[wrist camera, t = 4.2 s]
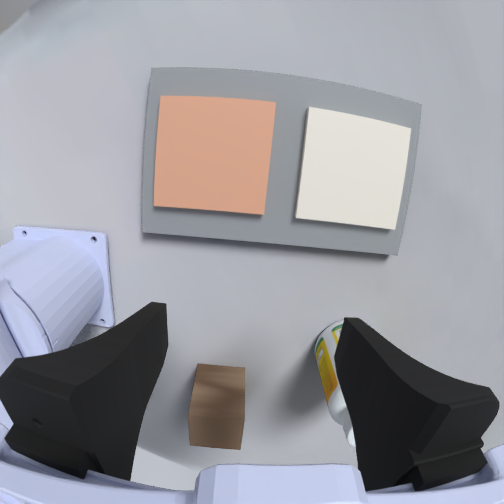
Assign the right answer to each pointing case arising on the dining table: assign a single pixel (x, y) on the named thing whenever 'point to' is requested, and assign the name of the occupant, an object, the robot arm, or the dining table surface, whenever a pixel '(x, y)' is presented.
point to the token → (217, 407)
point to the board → (277, 159)
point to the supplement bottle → (333, 378)
